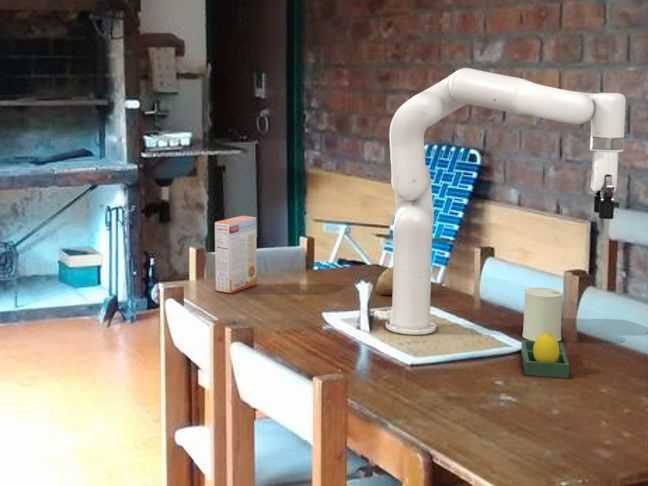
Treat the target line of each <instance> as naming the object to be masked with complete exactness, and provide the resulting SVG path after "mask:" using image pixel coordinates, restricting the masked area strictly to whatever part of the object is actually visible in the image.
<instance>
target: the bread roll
mask: <svg viewBox="0 0 648 486" xmlns="http://www.w3.org/2000/svg"><path fill="white" fill-rule="evenodd" d="M375 285H376V288H375V289H376V292H377V293H378V294H380V295H382V296H392V294H393V266H391V267H388V268H386V269H385V270H384V271H382V273H381V274H380V275H379V278H378V279H377V282H376V284H375Z"/></svg>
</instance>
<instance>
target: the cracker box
mask: <svg viewBox="0 0 648 486" xmlns="http://www.w3.org/2000/svg"><path fill="white" fill-rule="evenodd" d="M257 251H258V250H257V217H256V216H249V215H239V216H235V217H231V218H227V219H222V220H217V221H215V222H214V267H215V268H214V273H215V274H214V276H215V277H214V278H215V279H214V280H215V281H214V282H215V287H214V289H215V292H219V293H225V294H233V293H236V292H239V291H243V290H245V289H248V288H251V287H254V286H257V284H258V283H257V278H258V277H257V274H258V273H257V271H258V270H257V268H258V267H257V266H258V262H257V260H258V259H257Z"/></svg>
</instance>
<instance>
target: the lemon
mask: <svg viewBox="0 0 648 486" xmlns="http://www.w3.org/2000/svg"><path fill="white" fill-rule="evenodd" d="M558 343H559V341H558V342H557V340H556V339H555V338H554V337H553V336H551V335H549V333H545V334H543V335H541V336H539V337H538V338H537V339H536V341H535V343H534V347H533V354H534V358H535V360H536V361H537V362H550V363H555V362H556V361H557V360H558V357H559V344H558Z"/></svg>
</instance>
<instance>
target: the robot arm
mask: <svg viewBox="0 0 648 486" xmlns="http://www.w3.org/2000/svg"><path fill="white" fill-rule="evenodd" d="M626 103H627V99H626V96H625V95H624V94H623V93H619V92H597V93H592V92H591V93H590V92H585V91H584V92H583V91H576V90H575V91H574V90H573V91H572V90H567V89H563V88H562V89H561V88H557V87H553V86H547V85H543V84H539V83H535V82H532V81H531V80H528V79H524V78H520V77H516V76H511V75H505V74H500V73H496V72H495V73H494V72H490V71H485V70H479V69H474V68H471V67H463V68H459V69H457V70H456V71H454V72H453V73H452V74H450V75H448V76H447V77H446V78H443V79H442V80H441V81H439V82H437V83H435V84H433V85H432V86H430V87H428V88H426V89H424V90H423V91H421V92H419V93H417V94H415V95H414V96H412V97H411V98H409V99H408V100H407V101H405V102H404V103H403V104H402V105H401V106H400V107H399V108H398V109H397V110H396V112H395V113H394V115H393V116H392V119H391V122H390V126H389V153H390V154H389V155H390V157H389V158H390V168H391V171H390V172H391V180H390V181H391V187H392V190H393V192H394V200H395V211H396V215H395V217H394V220H393V221H394V222H393V224H392V225H393V226H392V248H393V250H392V253H393V254H392V267H393V294H392V295H391V296H392V297H391V298H392V299H391V300H392V301H391V307H390V309H387V310H386V311H385V310H379V309H378V310H374V314H373V316H374V319H378V320H381V321H385V320H386V322H385V328H386V330H387V331H390V332H393V333H396V334H401V335H408V336H409V335H410V336H411V335H412V336H420V335H429V334H432V333H434V332H435V331H436V330H437V325H436V324H435V323H434V322H432V321H431V297H432V296H431V292H432V291H431V290H432V259H433V258H432V257H433V255H432V254H433V253H432V250H433V249H432V248H433V232H434V231H433V229H434V224H435V223H434V222H435V213H434V202H433V190H432V178H431V173H430V170H429V168H428V167H427V164H426V153H425V152H426V151H425V150H426V147H425V132H426V130H427V129H428V128H429V127H431V126H434V125H435V124H436V123H438V122H439V121H440V120H442V119H444V118H445V117H447V116H449V115H450V114H452V113H454V112H456V111H457V110H460V109H461V108H462V107H464V106H465V105H472V106H477V107H482V108H488V109H493V110H497V111H502V112H507V113H512V114H516V115H521V116H523V115H524V116H531V117H536V118H541V119H545V120H552V121H554V122H555V121H556V122H560V123H564V124H565V123H566V124H569V125H582V124H585V123H587V122H589V121H590V138H589V139H590V140H589V151H590V152H591V151H592V152H593V153H592V162H591V163H592V164H591V175H590V189H591V190H592V191H593V192H594V201H593V212H594V213H597V214H598V218H599V219H600V220H613V219H614V216H615V215H614V213H615V202H614V201H615V195H614V194H615V193H617V186H618V171H619V153H622V152H624V145H625V125H626Z"/></svg>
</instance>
